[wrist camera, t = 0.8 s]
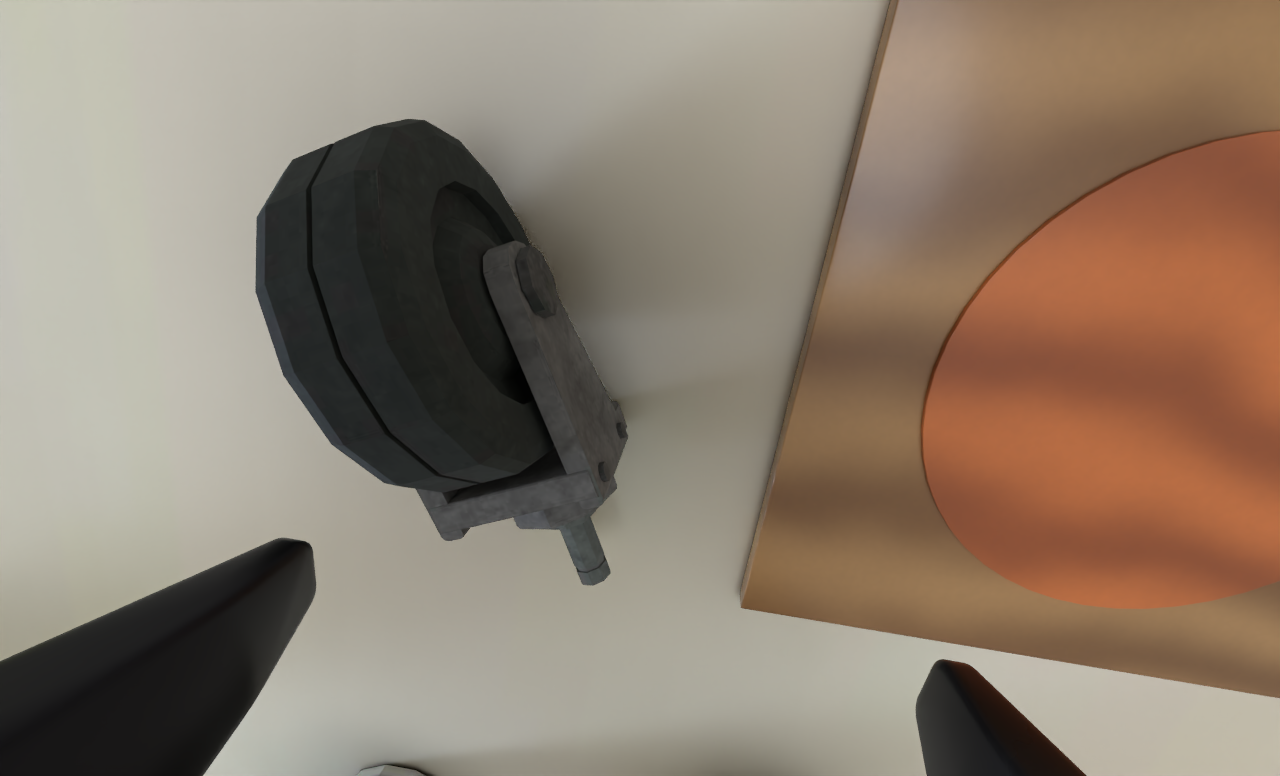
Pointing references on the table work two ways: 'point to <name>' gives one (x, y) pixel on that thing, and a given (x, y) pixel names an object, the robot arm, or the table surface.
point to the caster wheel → (436, 337)
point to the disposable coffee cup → (389, 771)
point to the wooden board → (1049, 345)
